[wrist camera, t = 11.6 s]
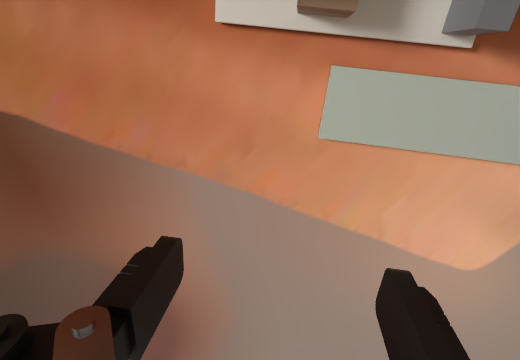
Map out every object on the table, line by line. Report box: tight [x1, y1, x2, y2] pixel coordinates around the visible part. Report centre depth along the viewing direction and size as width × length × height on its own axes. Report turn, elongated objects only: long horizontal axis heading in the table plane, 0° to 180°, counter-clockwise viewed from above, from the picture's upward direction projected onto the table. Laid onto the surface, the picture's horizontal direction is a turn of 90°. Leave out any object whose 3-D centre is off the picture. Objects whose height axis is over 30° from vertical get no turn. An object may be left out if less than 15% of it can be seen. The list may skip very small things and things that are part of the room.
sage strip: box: [318, 65, 520, 164], centre depth 29 cm, size 8×26×7 cm, turn 85°
